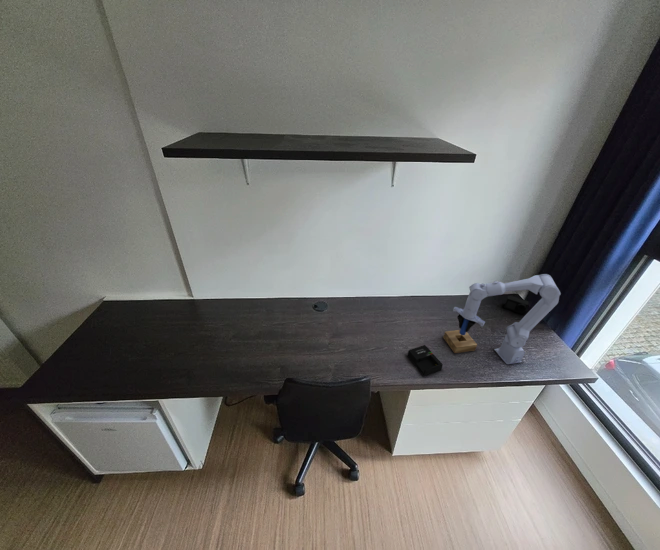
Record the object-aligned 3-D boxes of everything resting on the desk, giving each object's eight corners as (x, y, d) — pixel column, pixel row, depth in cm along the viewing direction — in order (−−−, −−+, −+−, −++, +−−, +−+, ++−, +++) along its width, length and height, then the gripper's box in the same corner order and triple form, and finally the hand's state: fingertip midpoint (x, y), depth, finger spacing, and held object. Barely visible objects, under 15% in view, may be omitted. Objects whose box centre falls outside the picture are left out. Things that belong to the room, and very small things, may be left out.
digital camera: (503, 309, 170) (507, 299, 166) (504, 304, 174) (508, 295, 170) (523, 315, 165) (528, 306, 161) (524, 310, 169) (528, 301, 165)
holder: (475, 350, 142) (477, 344, 140) (454, 353, 140) (456, 347, 138) (462, 334, 151) (464, 329, 149) (443, 337, 150) (444, 331, 147)
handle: (466, 333, 142) (471, 319, 137) (463, 336, 140) (468, 321, 136) (461, 330, 144) (465, 316, 139) (458, 332, 142) (463, 318, 137)
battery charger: (407, 355, 139) (408, 349, 137) (423, 350, 142) (425, 344, 140) (423, 376, 129) (425, 370, 126) (441, 370, 132) (443, 364, 130)
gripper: (491, 311, 131) (482, 333, 138) (461, 296, 140) (454, 318, 147) (484, 318, 127) (475, 340, 134) (453, 302, 136) (446, 324, 143)
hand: (463, 329), depth 141 cm, fingers closed on handle, 3 cm apart
